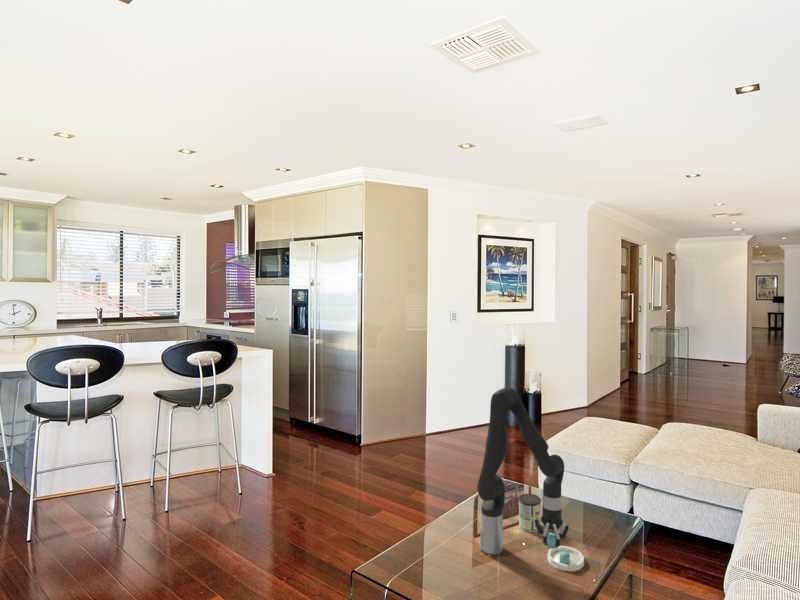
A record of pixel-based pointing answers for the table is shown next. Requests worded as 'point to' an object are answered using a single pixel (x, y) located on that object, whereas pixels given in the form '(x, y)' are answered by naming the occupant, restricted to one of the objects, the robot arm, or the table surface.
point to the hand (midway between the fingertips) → (551, 545)
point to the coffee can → (529, 511)
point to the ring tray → (575, 559)
